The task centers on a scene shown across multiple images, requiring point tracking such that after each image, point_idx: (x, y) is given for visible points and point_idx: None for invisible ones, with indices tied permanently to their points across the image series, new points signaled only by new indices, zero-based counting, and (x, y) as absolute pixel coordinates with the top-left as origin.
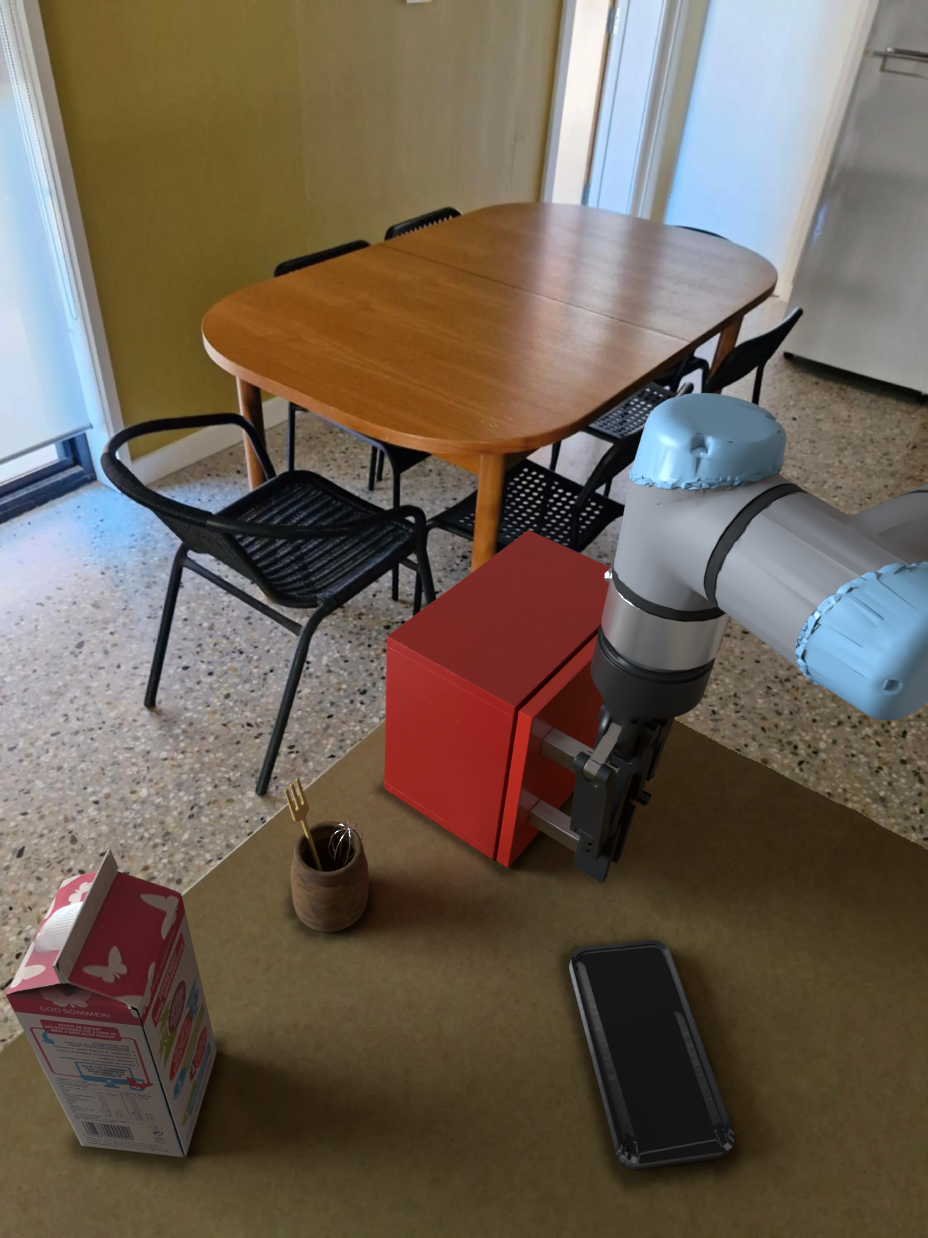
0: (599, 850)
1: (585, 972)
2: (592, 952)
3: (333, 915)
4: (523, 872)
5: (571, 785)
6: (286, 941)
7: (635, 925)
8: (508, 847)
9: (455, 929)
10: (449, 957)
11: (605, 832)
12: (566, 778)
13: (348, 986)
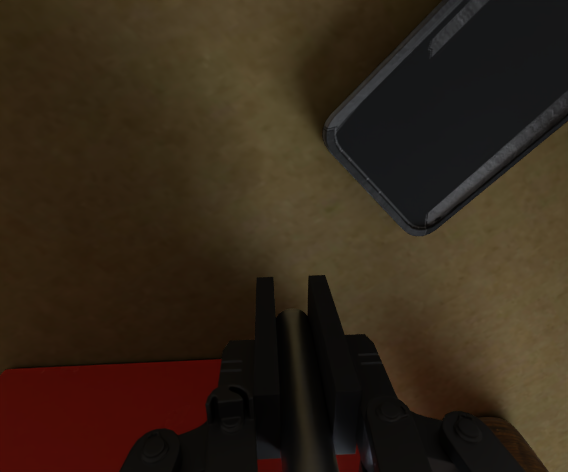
0: (371, 358)
1: (437, 206)
2: (401, 215)
3: (535, 454)
4: None
5: (169, 380)
6: (533, 439)
7: (301, 185)
8: None
9: (441, 347)
10: (478, 333)
11: (481, 461)
12: (187, 413)
13: (554, 380)
